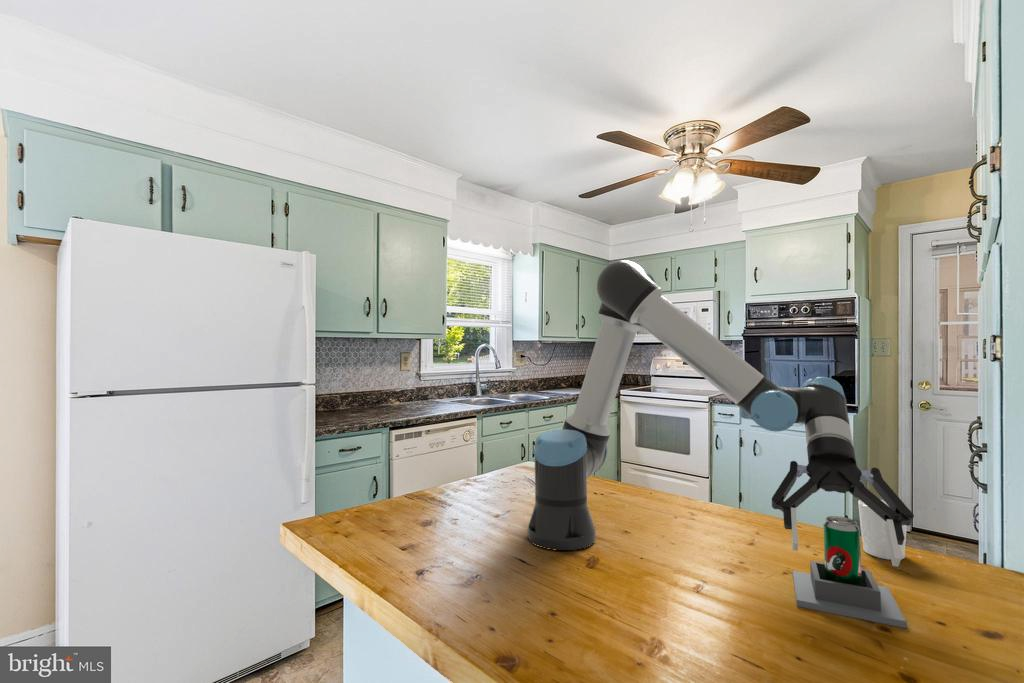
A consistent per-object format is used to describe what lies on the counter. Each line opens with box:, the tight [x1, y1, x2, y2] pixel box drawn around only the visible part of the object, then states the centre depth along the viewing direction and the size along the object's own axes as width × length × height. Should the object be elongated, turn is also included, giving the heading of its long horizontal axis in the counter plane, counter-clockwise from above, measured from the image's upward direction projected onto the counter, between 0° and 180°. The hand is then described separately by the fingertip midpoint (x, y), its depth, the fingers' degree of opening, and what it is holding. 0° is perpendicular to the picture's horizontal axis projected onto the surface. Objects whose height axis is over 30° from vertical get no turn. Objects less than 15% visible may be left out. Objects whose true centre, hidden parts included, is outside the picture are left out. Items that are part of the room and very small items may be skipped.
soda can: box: [822, 515, 862, 587], centre depth 79 cm, size 5×5×12 cm
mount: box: [792, 560, 907, 629], centre depth 79 cm, size 14×12×4 cm
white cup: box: [857, 499, 907, 561], centre depth 98 cm, size 8×8×10 cm
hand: (844, 554), depth 77 cm, fingers open, 13 cm apart
